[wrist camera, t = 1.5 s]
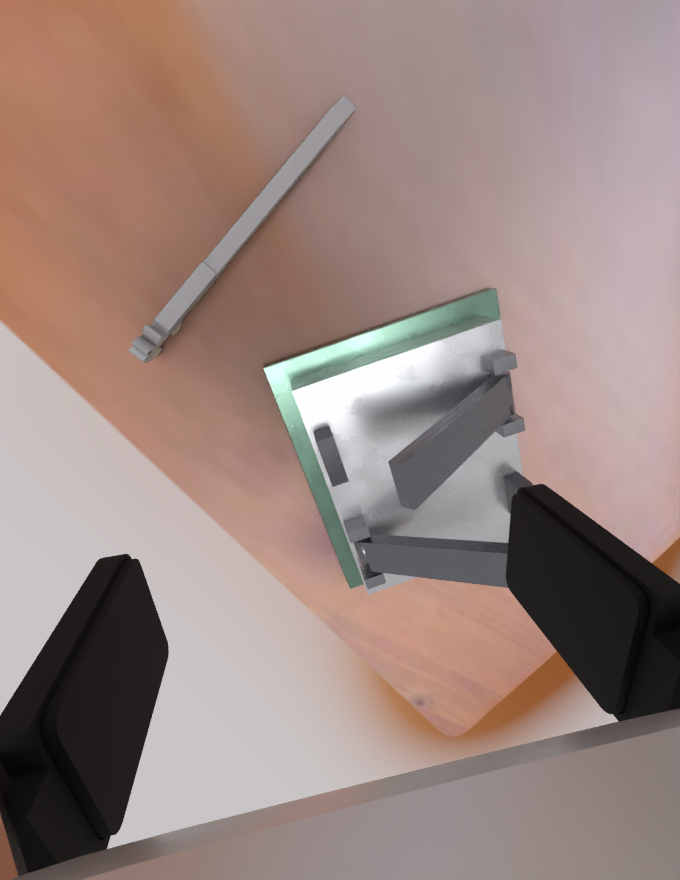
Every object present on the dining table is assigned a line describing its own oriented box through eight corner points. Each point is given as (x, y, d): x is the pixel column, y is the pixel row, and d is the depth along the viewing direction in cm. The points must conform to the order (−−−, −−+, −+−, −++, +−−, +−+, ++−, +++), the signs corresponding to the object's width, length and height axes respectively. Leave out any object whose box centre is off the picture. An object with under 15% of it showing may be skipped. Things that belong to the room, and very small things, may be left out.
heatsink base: (489, 288, 30) (537, 290, 25) (522, 518, 39) (563, 557, 34) (263, 365, 30) (261, 385, 24) (348, 581, 39) (360, 631, 33)
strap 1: (496, 371, 29) (513, 371, 28) (502, 409, 30) (518, 410, 29) (386, 461, 22) (404, 464, 21) (399, 505, 23) (416, 510, 22)
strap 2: (366, 560, 33) (360, 571, 32) (356, 532, 32) (350, 542, 31) (535, 577, 27) (534, 591, 26) (530, 543, 26) (529, 556, 25)
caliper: (161, 354, 29) (133, 373, 23) (147, 344, 28) (116, 361, 23) (355, 111, 25) (379, 61, 20) (342, 95, 25) (364, 40, 19)
